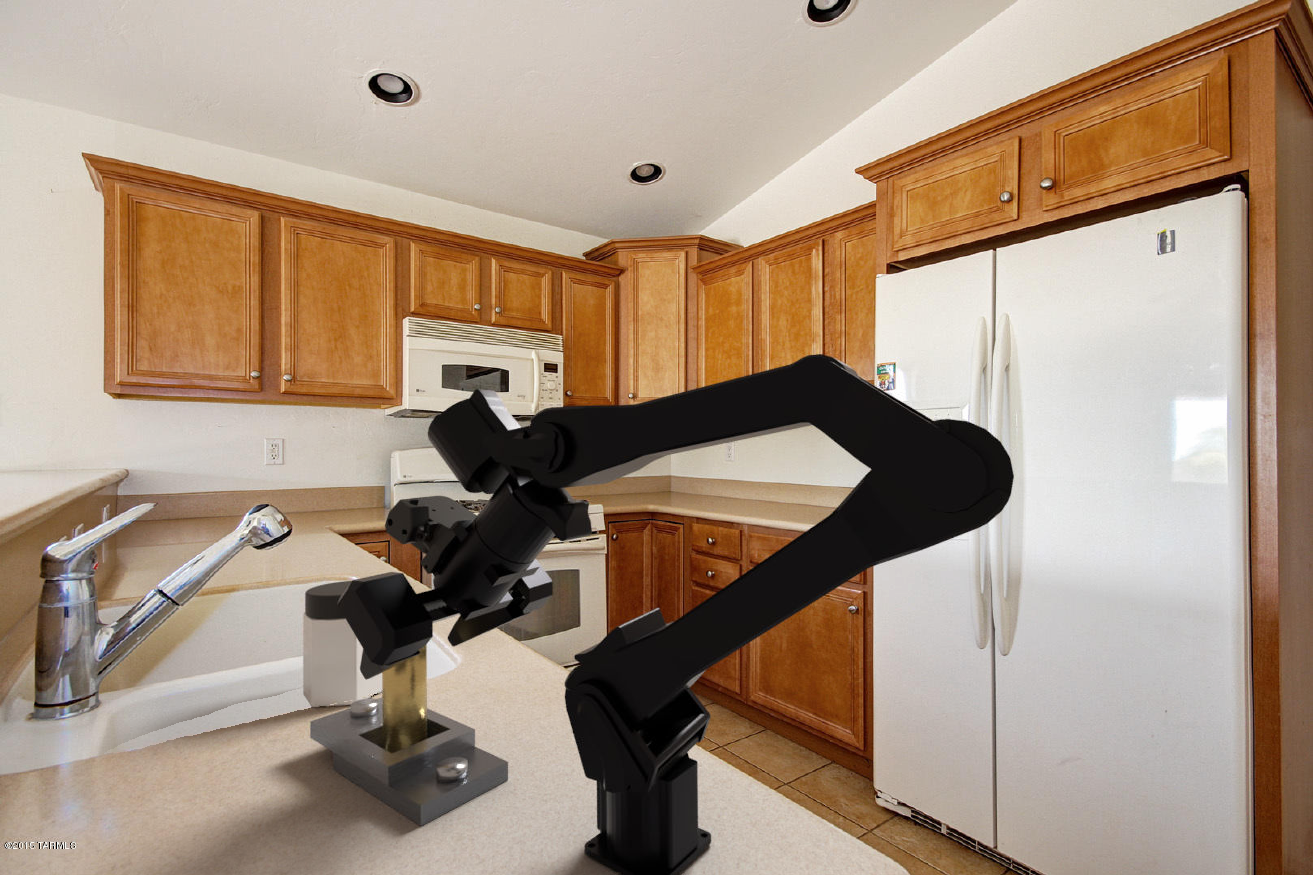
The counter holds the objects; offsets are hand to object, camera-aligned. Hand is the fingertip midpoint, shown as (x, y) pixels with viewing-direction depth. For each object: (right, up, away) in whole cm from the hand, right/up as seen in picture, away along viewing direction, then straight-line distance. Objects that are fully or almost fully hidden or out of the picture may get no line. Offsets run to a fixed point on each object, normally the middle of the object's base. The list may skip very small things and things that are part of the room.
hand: (410, 656), depth 54 cm
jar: (-14, -10, +17) cm, 24 cm away
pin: (-1, -10, 0) cm, 10 cm away
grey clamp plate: (-1, -10, 0) cm, 10 cm away
